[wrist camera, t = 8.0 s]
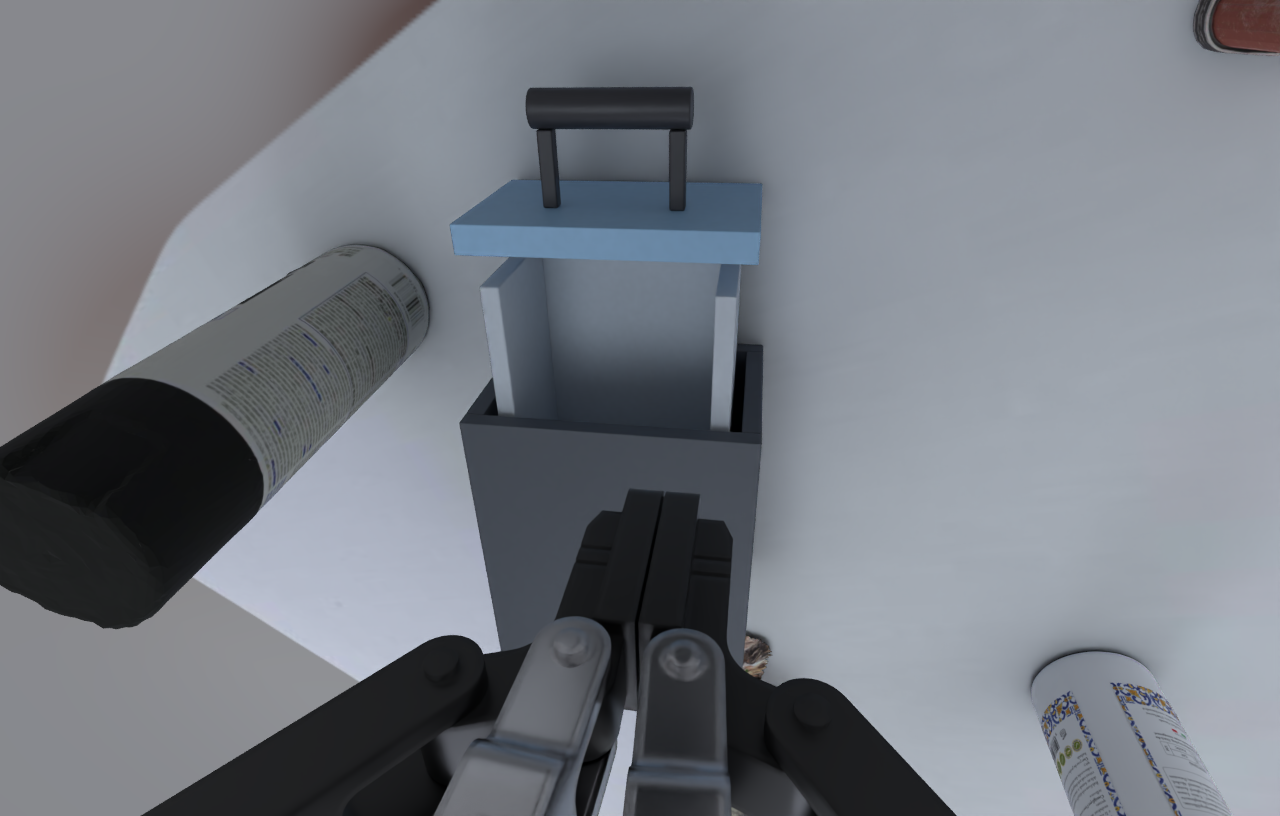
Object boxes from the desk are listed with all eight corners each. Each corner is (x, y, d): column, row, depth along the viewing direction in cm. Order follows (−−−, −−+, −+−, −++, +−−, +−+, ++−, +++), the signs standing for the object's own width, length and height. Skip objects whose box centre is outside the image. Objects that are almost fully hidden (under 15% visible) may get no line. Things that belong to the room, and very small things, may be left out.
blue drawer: (499, 76, 29) (428, 97, 23) (769, 74, 28) (770, 96, 22) (539, 427, 39) (495, 509, 32) (744, 441, 37) (739, 531, 31)
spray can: (326, 217, 35) (-87, 425, 18) (449, 275, 36) (160, 529, 19) (308, 324, 39) (-52, 582, 22) (420, 375, 39) (155, 665, 22)
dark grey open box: (524, 333, 37) (458, 422, 29) (763, 345, 35) (761, 444, 27) (548, 540, 44) (501, 656, 36) (746, 559, 42) (741, 685, 35)
